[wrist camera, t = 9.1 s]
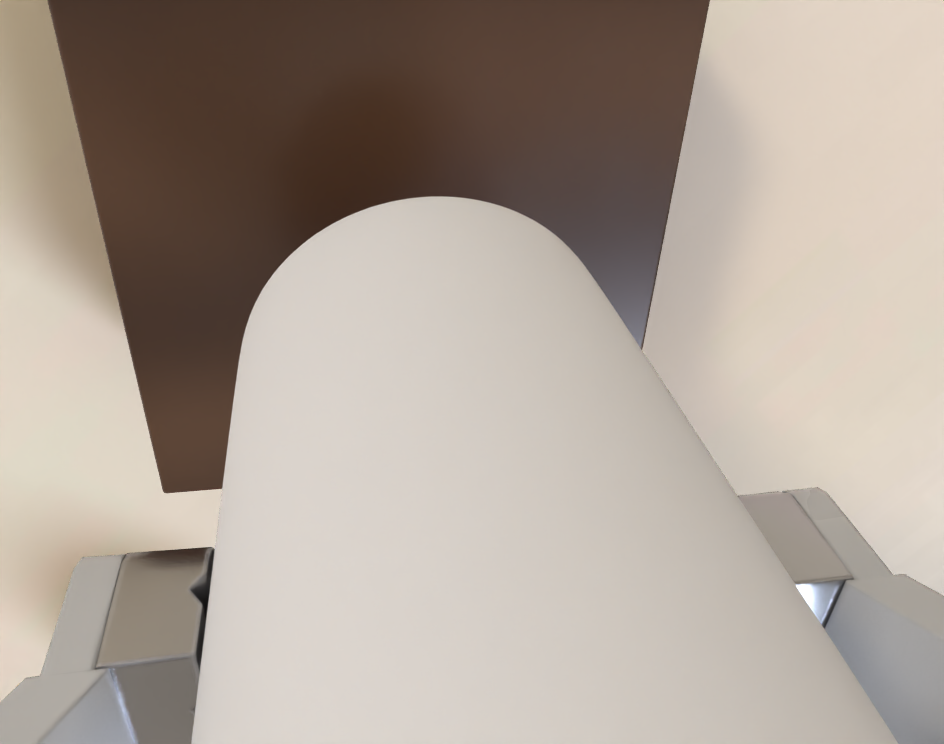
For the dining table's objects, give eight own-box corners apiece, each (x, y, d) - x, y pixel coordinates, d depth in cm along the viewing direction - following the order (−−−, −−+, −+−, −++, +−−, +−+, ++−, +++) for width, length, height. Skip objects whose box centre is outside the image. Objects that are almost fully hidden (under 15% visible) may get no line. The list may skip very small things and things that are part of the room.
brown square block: (98, -79, 17) (33, -51, 13) (629, -61, 19) (718, -33, 15) (187, 381, 24) (162, 495, 20) (572, 357, 26) (622, 456, 22)
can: (468, 530, 17) (695, 1491, 7) (174, 416, 14) (-123, 1775, 4) (671, 299, 14) (1443, 1278, 5) (367, 103, 12) (725, 1597, 2)
